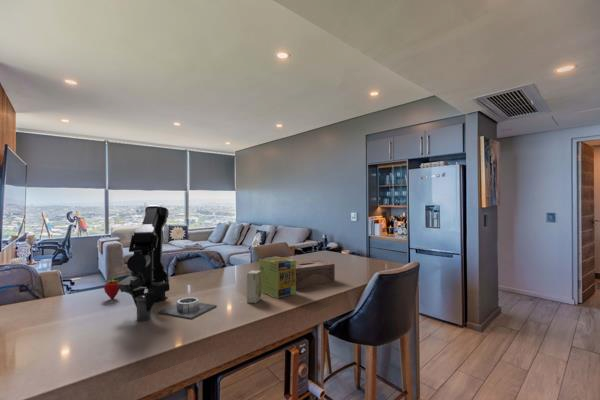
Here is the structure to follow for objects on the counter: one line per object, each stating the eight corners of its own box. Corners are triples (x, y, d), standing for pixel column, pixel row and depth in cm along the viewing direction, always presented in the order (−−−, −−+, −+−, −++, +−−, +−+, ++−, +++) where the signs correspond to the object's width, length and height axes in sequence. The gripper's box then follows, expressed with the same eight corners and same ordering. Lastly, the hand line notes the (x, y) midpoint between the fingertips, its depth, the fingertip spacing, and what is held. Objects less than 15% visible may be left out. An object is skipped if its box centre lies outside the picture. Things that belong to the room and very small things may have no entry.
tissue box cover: (291, 290, 141) (291, 269, 141) (278, 283, 154) (278, 264, 154) (334, 283, 154) (334, 263, 154) (319, 277, 166) (319, 259, 166)
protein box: (278, 299, 126) (278, 263, 127) (258, 291, 138) (258, 258, 138) (296, 294, 133) (296, 260, 134) (276, 287, 145) (276, 255, 145)
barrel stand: (157, 313, 110) (157, 303, 110) (185, 301, 123) (185, 293, 123) (191, 319, 104) (191, 308, 104) (216, 306, 117) (216, 297, 117)
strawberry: (103, 303, 122) (103, 278, 122) (104, 298, 128) (104, 275, 128) (120, 300, 125) (120, 277, 125) (120, 296, 131) (120, 273, 131)
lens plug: (131, 320, 103) (132, 297, 103) (144, 315, 108) (144, 293, 108) (142, 322, 101) (142, 299, 101) (155, 317, 106) (155, 295, 106)
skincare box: (256, 303, 121) (256, 273, 121) (246, 302, 121) (246, 273, 122) (261, 298, 127) (261, 270, 127) (251, 298, 128) (251, 269, 128)
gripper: (104, 268, 101) (103, 314, 100) (143, 273, 94) (143, 322, 93) (133, 262, 111) (132, 304, 111) (170, 266, 104) (170, 310, 104)
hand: (143, 310), depth 104 cm, fingers closed on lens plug, 4 cm apart
